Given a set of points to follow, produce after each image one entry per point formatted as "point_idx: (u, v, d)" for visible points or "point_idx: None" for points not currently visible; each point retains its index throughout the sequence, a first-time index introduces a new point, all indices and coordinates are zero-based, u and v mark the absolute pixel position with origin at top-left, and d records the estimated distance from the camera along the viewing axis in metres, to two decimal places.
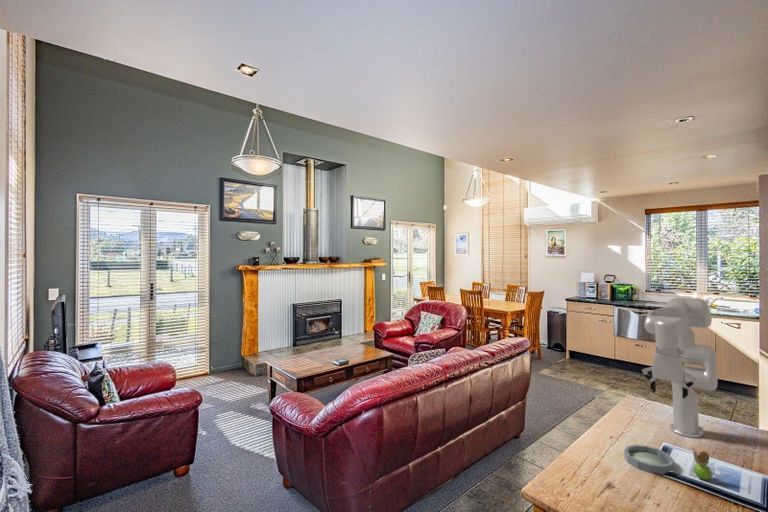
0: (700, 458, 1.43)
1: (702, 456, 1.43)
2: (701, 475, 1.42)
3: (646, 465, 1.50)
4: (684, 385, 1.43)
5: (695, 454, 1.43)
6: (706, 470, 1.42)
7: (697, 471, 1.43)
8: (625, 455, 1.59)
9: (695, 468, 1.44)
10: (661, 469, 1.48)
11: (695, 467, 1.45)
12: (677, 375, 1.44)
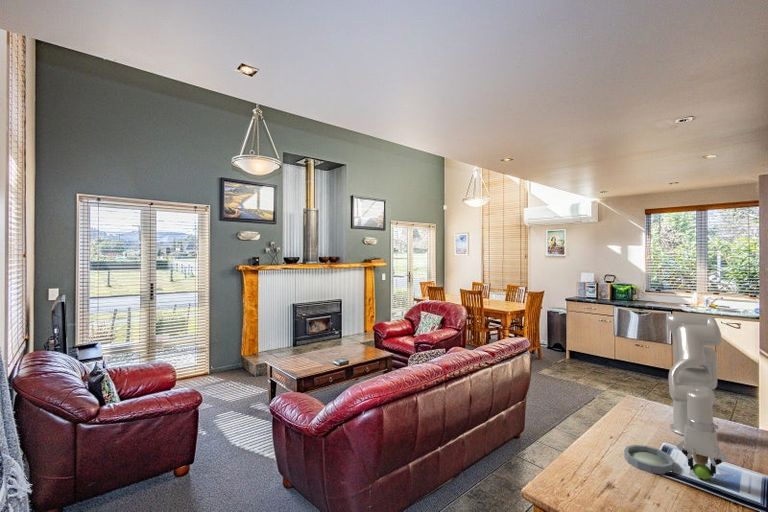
0: (699, 458, 1.43)
1: (701, 456, 1.43)
2: (700, 474, 1.42)
3: (646, 465, 1.50)
4: (713, 462, 1.40)
5: (694, 454, 1.43)
6: (705, 470, 1.42)
7: (696, 470, 1.44)
8: (625, 455, 1.59)
9: (694, 468, 1.45)
10: (661, 469, 1.48)
11: (694, 467, 1.45)
12: (711, 451, 1.40)
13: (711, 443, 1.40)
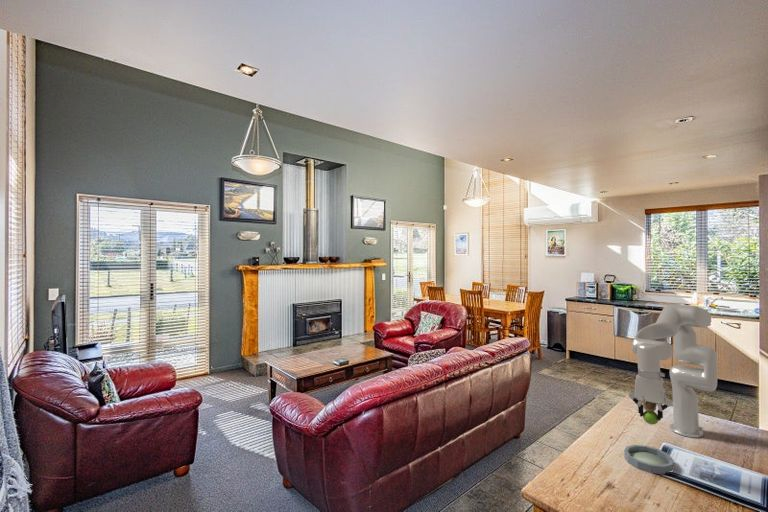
0: (648, 405, 1.55)
1: (650, 403, 1.54)
2: (648, 420, 1.54)
3: (646, 465, 1.50)
4: (660, 408, 1.52)
5: (643, 401, 1.55)
6: (653, 416, 1.53)
7: (645, 416, 1.55)
8: (625, 455, 1.59)
9: (644, 414, 1.56)
10: (661, 469, 1.48)
11: (644, 413, 1.56)
12: (658, 397, 1.51)
13: (658, 390, 1.51)
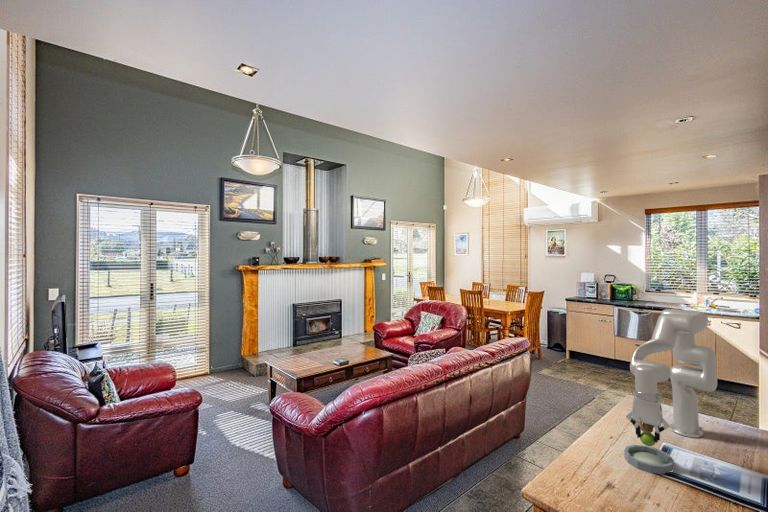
0: (645, 426, 1.55)
1: (647, 424, 1.55)
2: (645, 441, 1.54)
3: (646, 465, 1.50)
4: (657, 430, 1.52)
5: (640, 423, 1.55)
6: (650, 438, 1.54)
7: (642, 438, 1.56)
8: (625, 455, 1.59)
9: (641, 436, 1.57)
10: (661, 469, 1.48)
11: (641, 435, 1.57)
12: (655, 419, 1.52)
13: (655, 412, 1.52)
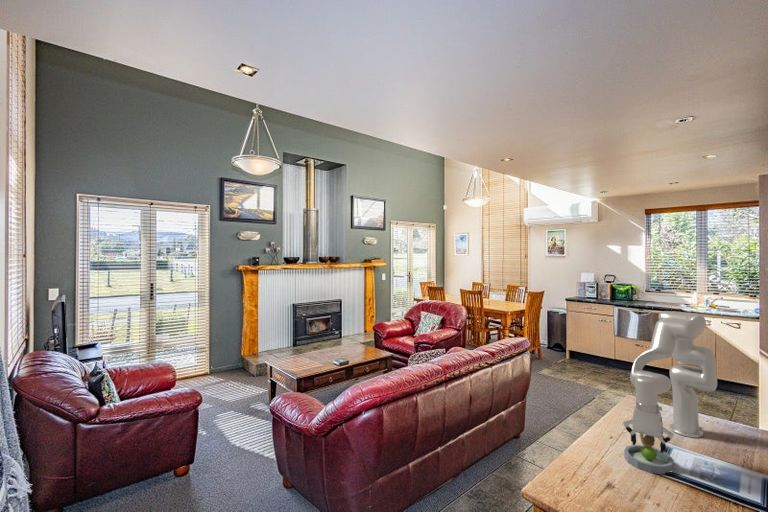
0: (646, 440, 1.56)
1: (648, 438, 1.56)
2: (646, 455, 1.55)
3: (646, 465, 1.50)
4: (662, 440, 1.51)
5: (641, 436, 1.56)
6: (651, 452, 1.54)
7: (643, 452, 1.56)
8: (625, 455, 1.59)
9: (642, 449, 1.57)
10: (661, 469, 1.48)
11: (642, 449, 1.57)
12: (655, 430, 1.52)
13: (655, 423, 1.52)
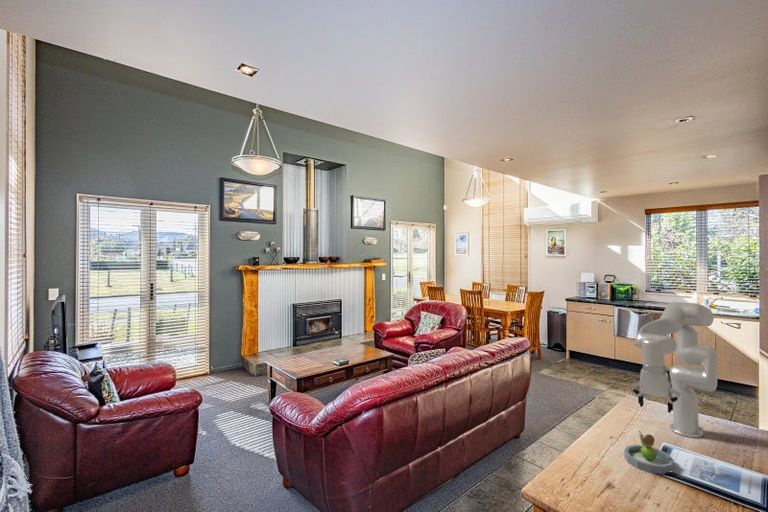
0: (646, 440, 1.56)
1: (647, 438, 1.56)
2: (646, 456, 1.55)
3: (646, 465, 1.50)
4: (669, 400, 1.52)
5: (641, 437, 1.56)
6: (651, 452, 1.54)
7: (643, 452, 1.56)
8: (625, 455, 1.59)
9: (641, 450, 1.57)
10: (661, 469, 1.48)
11: (642, 449, 1.57)
12: (662, 391, 1.53)
13: (662, 384, 1.53)
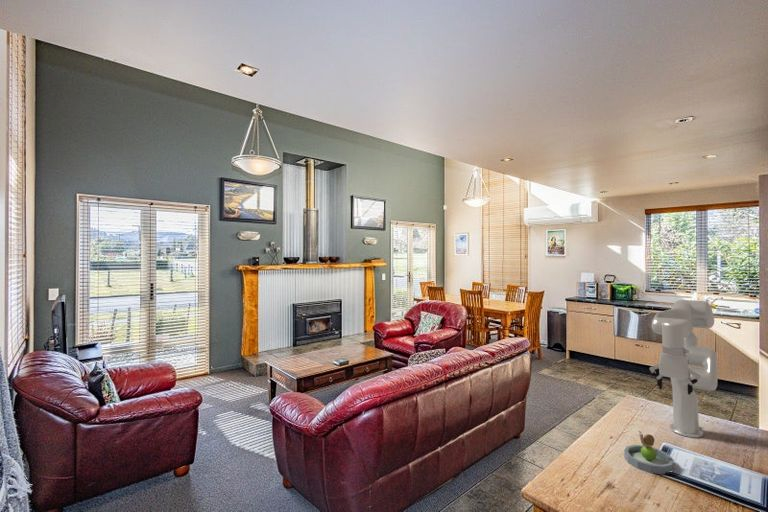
0: (646, 440, 1.56)
1: (648, 438, 1.56)
2: (646, 456, 1.55)
3: (646, 465, 1.50)
4: (689, 382, 1.54)
5: (641, 437, 1.56)
6: (651, 452, 1.54)
7: (643, 452, 1.56)
8: (625, 455, 1.59)
9: (641, 450, 1.57)
10: (661, 469, 1.48)
11: (642, 449, 1.57)
12: (682, 373, 1.55)
13: (682, 366, 1.55)
